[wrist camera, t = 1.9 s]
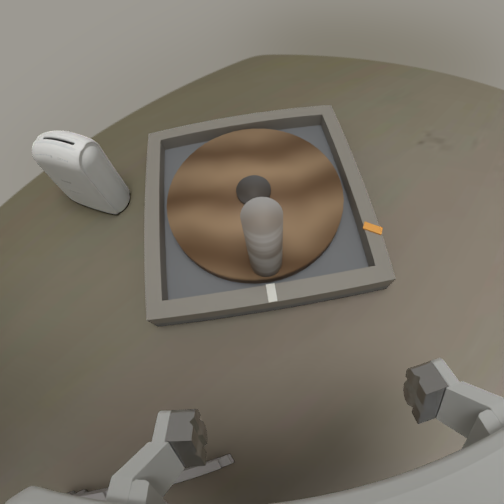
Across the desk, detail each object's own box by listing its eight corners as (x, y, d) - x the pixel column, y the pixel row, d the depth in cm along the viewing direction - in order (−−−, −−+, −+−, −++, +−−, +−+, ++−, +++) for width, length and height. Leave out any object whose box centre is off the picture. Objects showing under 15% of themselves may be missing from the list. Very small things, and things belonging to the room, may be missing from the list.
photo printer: (67, 201, 40) (18, 148, 29) (83, 177, 41) (40, 120, 30) (120, 220, 38) (71, 159, 26) (136, 192, 39) (95, 126, 28)
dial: (170, 152, 40) (144, 90, 30) (316, 128, 39) (323, 62, 30) (174, 296, 32) (132, 256, 22) (361, 265, 32) (393, 214, 22)
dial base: (157, 326, 32) (145, 319, 29) (155, 149, 42) (148, 132, 39) (387, 288, 32) (398, 277, 29) (330, 121, 42) (332, 103, 38)
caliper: (76, 498, 25) (45, 510, 19) (72, 490, 25) (41, 501, 19) (234, 461, 27) (225, 478, 21) (230, 451, 27) (219, 467, 21)
